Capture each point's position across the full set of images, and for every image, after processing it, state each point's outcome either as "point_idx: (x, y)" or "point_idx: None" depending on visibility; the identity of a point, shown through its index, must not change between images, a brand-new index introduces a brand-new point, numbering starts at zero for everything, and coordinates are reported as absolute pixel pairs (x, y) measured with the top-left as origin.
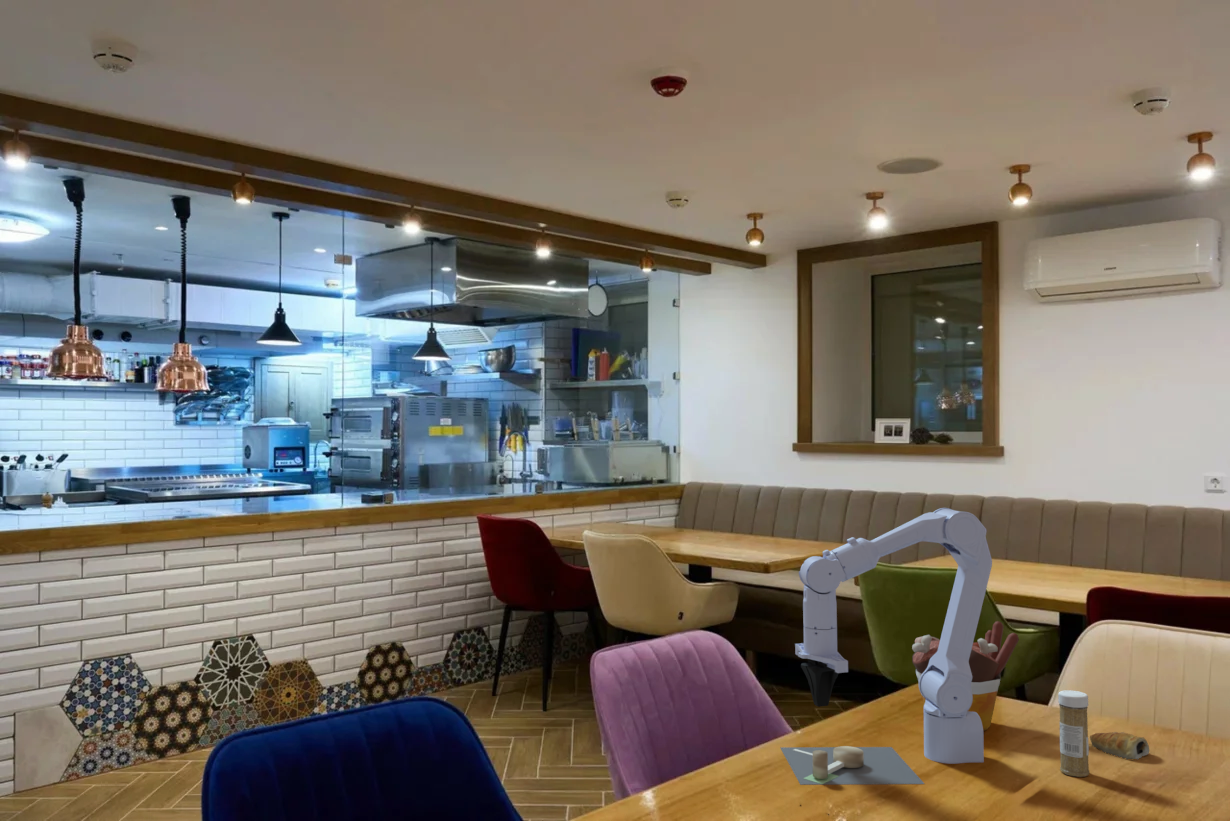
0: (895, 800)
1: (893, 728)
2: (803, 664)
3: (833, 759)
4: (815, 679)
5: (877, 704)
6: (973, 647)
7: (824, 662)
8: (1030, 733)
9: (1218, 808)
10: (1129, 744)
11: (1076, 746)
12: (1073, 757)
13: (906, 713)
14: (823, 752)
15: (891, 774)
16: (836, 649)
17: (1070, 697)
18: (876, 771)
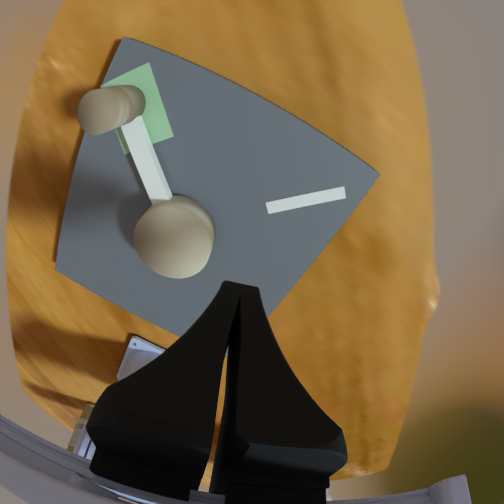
0: (40, 193)
1: (322, 409)
2: (309, 457)
3: (196, 205)
4: (154, 363)
5: (396, 432)
6: None
7: (7, 455)
8: (213, 457)
9: (26, 395)
10: None
11: (75, 428)
12: (80, 418)
13: (348, 438)
14: (93, 122)
15: (101, 258)
16: None
17: None
18: (122, 247)
